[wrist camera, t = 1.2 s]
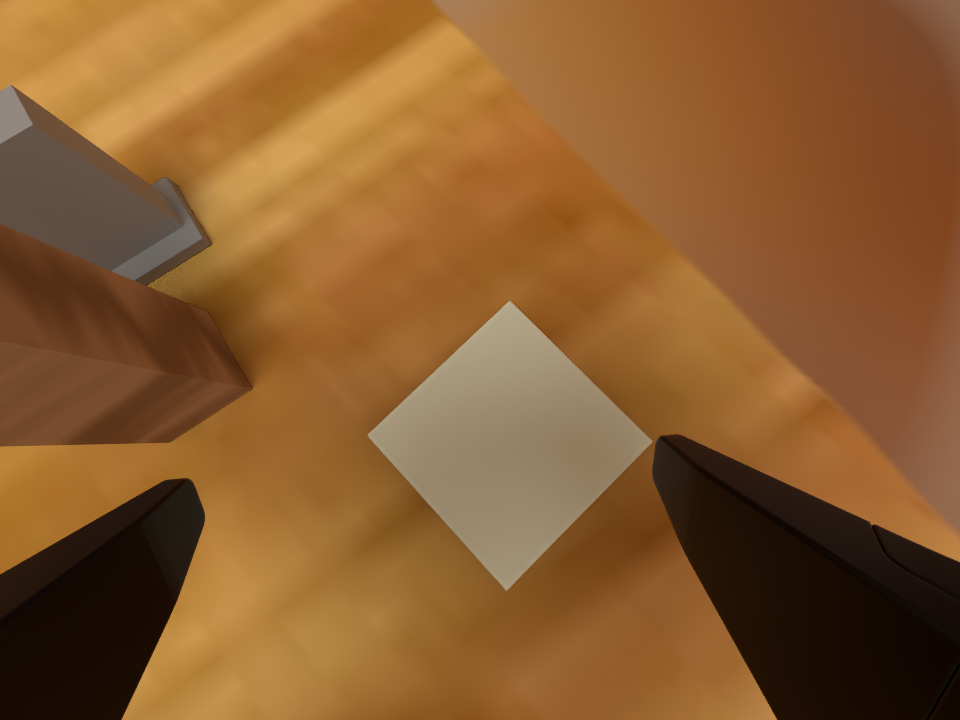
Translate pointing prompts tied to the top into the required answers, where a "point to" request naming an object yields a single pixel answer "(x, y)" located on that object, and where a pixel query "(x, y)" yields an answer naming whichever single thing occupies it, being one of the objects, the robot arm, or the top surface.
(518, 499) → the mat
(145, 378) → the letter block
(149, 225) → the screen
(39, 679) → the robot arm
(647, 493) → the top surface
